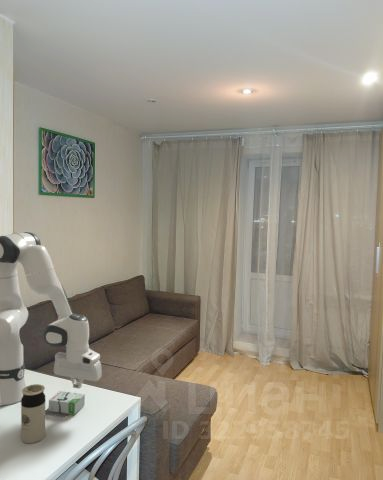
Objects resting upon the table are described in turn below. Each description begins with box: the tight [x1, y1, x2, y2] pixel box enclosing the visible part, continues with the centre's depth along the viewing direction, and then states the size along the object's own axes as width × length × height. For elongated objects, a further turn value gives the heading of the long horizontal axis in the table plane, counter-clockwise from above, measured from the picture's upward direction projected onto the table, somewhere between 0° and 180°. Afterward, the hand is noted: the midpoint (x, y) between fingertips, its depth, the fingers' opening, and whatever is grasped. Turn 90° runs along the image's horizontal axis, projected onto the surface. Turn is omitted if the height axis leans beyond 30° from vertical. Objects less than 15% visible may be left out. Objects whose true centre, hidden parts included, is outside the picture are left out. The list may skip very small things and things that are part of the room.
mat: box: [45, 408, 69, 418], centre depth 156 cm, size 10×13×1 cm
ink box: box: [47, 390, 86, 415], centre depth 155 cm, size 9×5×12 cm
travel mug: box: [20, 384, 46, 444], centre depth 135 cm, size 8×8×18 cm
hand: (77, 387), depth 154 cm, fingers closed
